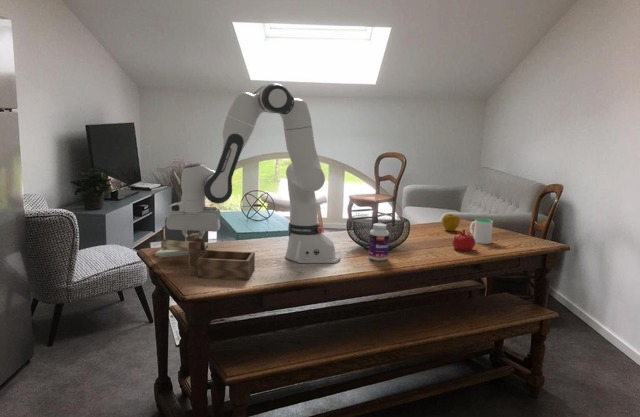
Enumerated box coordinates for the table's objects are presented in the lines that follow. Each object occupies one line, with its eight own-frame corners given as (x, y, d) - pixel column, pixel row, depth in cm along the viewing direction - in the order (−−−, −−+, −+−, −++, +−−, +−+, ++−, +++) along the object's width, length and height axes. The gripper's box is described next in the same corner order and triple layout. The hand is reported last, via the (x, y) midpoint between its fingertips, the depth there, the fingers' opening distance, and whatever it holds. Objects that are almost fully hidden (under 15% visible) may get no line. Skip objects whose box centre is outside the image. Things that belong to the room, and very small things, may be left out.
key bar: (197, 249, 196) (197, 241, 195) (194, 251, 192) (194, 243, 192) (164, 247, 196) (164, 239, 196) (161, 250, 193) (161, 242, 192)
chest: (254, 270, 200) (254, 239, 198) (248, 280, 188) (248, 247, 186) (196, 267, 201) (196, 236, 199) (186, 277, 190) (186, 244, 187)
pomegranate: (479, 251, 239) (481, 231, 237) (463, 253, 234) (465, 232, 232) (462, 245, 247) (464, 226, 246) (446, 247, 242) (448, 227, 240)
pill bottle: (375, 262, 216) (376, 227, 213) (364, 257, 223) (366, 223, 220) (391, 260, 220) (393, 225, 217) (380, 255, 227) (382, 221, 224)
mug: (463, 239, 260) (465, 218, 258) (473, 237, 265) (475, 216, 263) (483, 244, 251) (485, 222, 249) (494, 242, 255) (496, 221, 253)
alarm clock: (208, 250, 225) (208, 214, 223) (185, 255, 217) (184, 217, 214) (185, 243, 236) (185, 208, 233) (163, 247, 228) (162, 211, 225)
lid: (208, 247, 213) (206, 231, 212) (200, 254, 201) (197, 237, 200) (166, 251, 214) (163, 235, 213) (155, 258, 203) (152, 241, 202)
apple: (460, 229, 280) (461, 213, 278) (457, 233, 272) (458, 216, 271) (443, 228, 283) (444, 211, 282) (440, 231, 276) (441, 214, 274)
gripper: (222, 206, 207) (222, 240, 209) (170, 203, 208) (170, 238, 211) (218, 209, 201) (218, 244, 203) (164, 206, 202) (165, 242, 204)
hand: (193, 241), depth 207 cm, fingers closed on lid, 3 cm apart
